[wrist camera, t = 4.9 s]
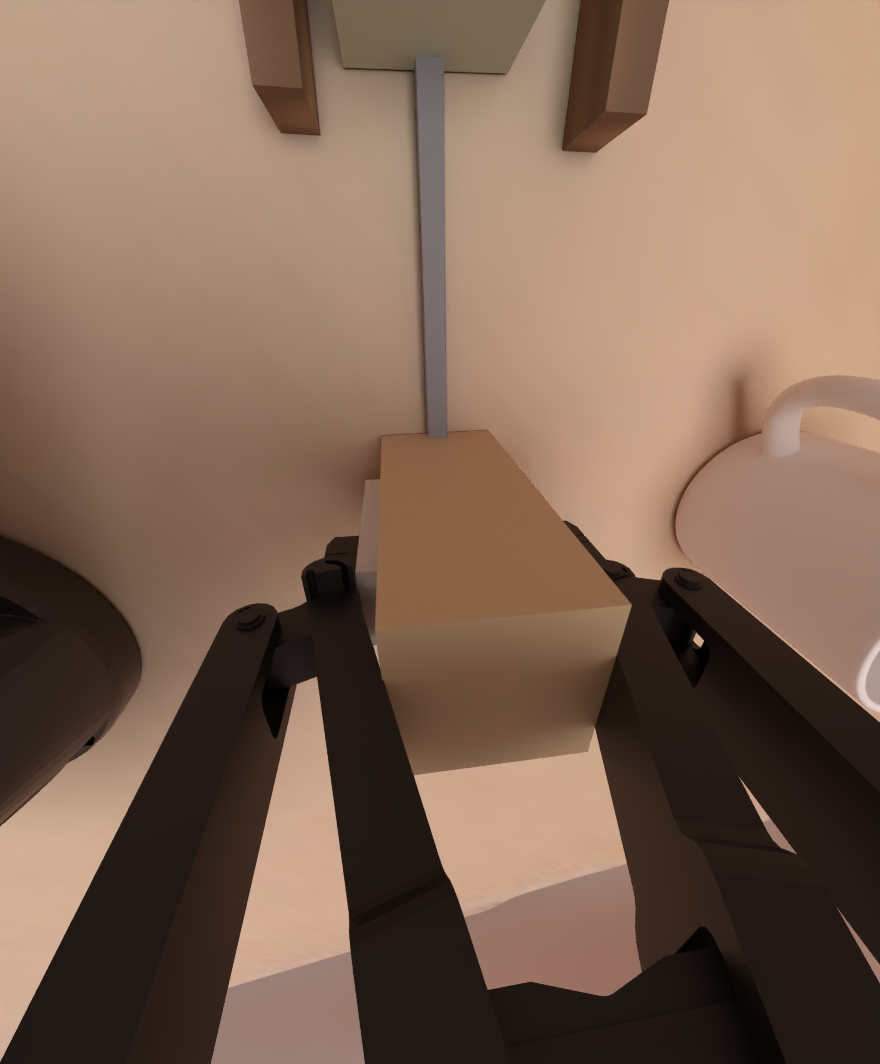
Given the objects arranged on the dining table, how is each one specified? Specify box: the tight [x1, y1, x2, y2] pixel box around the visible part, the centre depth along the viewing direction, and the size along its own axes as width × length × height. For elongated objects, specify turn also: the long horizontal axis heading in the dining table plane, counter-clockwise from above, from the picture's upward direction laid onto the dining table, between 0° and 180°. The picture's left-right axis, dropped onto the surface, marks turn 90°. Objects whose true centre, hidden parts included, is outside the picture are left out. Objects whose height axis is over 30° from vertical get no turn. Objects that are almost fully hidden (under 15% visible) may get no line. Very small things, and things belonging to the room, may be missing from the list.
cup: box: [675, 375, 880, 712], centre depth 16 cm, size 8×12×10 cm
